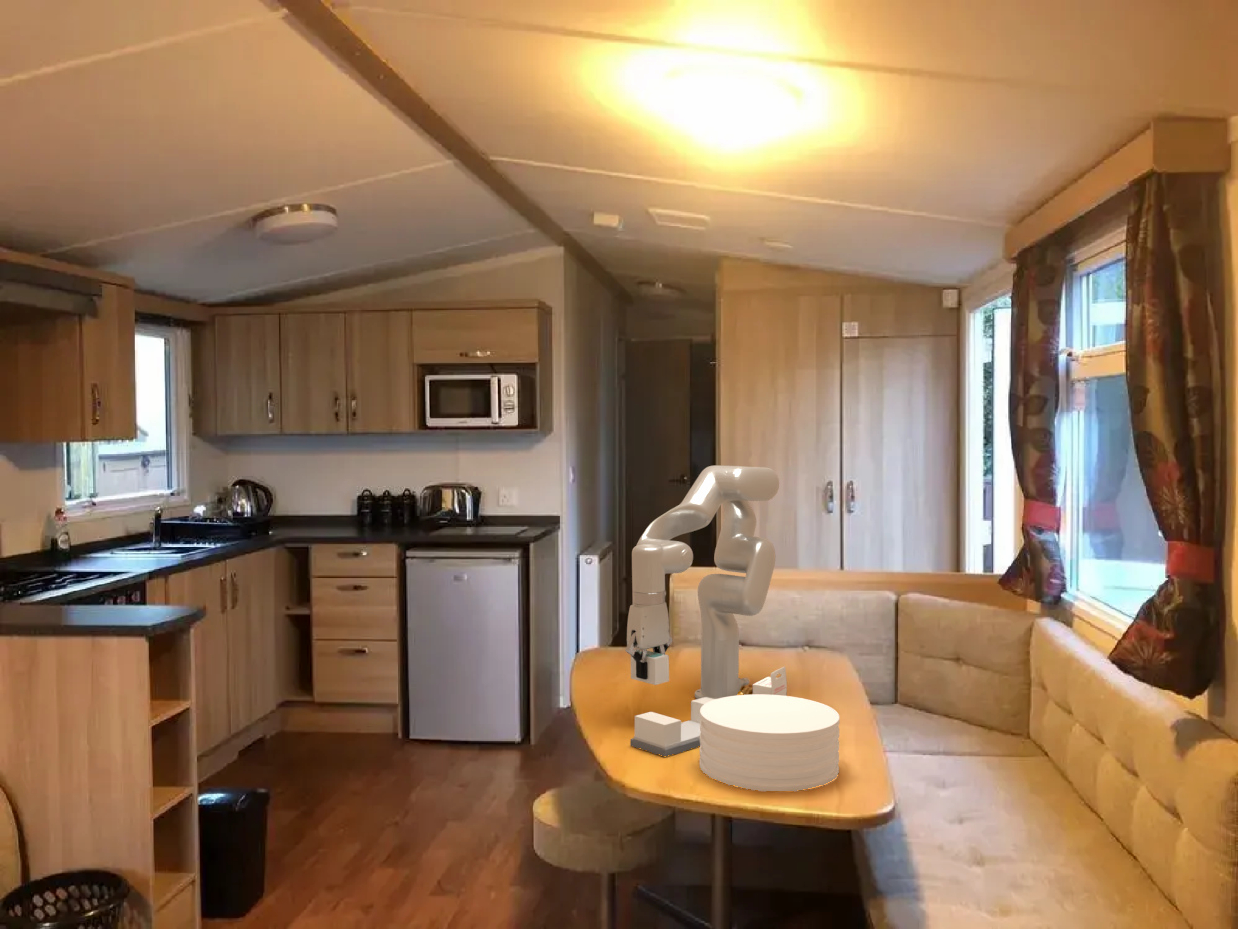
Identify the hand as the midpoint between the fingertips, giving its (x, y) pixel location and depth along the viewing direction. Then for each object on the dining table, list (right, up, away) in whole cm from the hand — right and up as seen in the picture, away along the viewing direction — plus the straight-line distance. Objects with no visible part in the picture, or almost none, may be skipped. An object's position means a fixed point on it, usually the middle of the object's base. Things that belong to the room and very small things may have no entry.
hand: (649, 675), depth 237 cm
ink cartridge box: (+27, -12, -6) cm, 30 cm away
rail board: (+8, -12, -12) cm, 18 cm away
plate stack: (+23, -13, -29) cm, 40 cm away
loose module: (0, -1, 0) cm, 1 cm away
